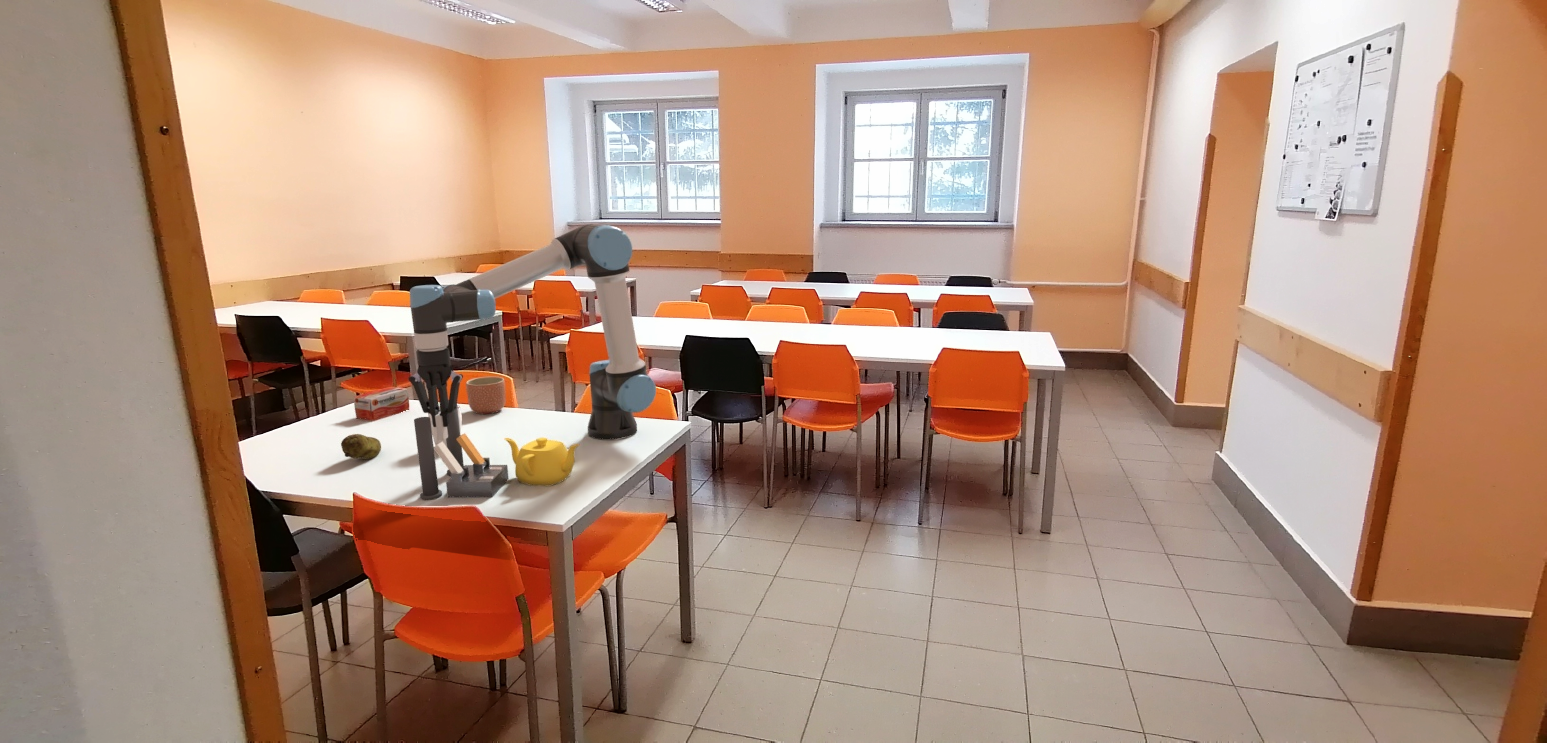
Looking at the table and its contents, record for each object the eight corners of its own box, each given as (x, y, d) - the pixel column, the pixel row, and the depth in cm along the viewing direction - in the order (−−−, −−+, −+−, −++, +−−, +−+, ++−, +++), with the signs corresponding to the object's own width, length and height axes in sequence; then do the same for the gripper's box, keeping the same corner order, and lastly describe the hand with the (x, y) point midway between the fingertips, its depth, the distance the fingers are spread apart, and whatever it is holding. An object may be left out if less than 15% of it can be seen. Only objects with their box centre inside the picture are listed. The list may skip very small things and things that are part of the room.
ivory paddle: (466, 473, 189) (443, 440, 187) (461, 478, 186) (437, 444, 184) (461, 476, 189) (437, 443, 187) (456, 481, 186) (432, 448, 184)
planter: (461, 415, 255) (458, 384, 252) (481, 405, 267) (478, 375, 264) (495, 417, 253) (492, 385, 250) (513, 407, 265) (511, 377, 262)
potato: (394, 453, 218) (391, 426, 217) (355, 467, 207) (351, 440, 205) (373, 449, 221) (370, 423, 220) (334, 464, 210) (330, 436, 208)
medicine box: (372, 422, 249) (369, 398, 247) (355, 419, 252) (352, 396, 250) (410, 410, 262) (408, 388, 261) (394, 407, 266) (391, 385, 264)
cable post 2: (470, 469, 205) (462, 398, 200) (462, 476, 200) (454, 403, 195) (451, 469, 205) (443, 398, 200) (444, 476, 200) (435, 403, 195)
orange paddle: (488, 464, 195) (465, 432, 193) (483, 468, 192) (460, 436, 190) (483, 467, 195) (460, 435, 193) (478, 471, 192) (455, 439, 190)
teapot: (487, 486, 193) (483, 446, 190) (521, 465, 207) (518, 428, 205) (564, 494, 187) (560, 453, 185) (594, 472, 202) (591, 434, 199)
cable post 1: (445, 492, 189) (436, 415, 185) (437, 499, 185) (427, 421, 180) (425, 492, 189) (416, 416, 185) (416, 500, 185) (406, 422, 180)
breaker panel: (508, 479, 198) (506, 456, 196) (492, 497, 186) (489, 473, 185) (466, 479, 198) (464, 457, 196) (447, 497, 186) (445, 473, 185)
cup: (452, 453, 218) (448, 413, 215) (425, 451, 219) (420, 412, 217) (471, 443, 226) (467, 405, 224) (444, 441, 228) (440, 403, 225)
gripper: (464, 344, 190) (474, 433, 196) (413, 345, 190) (424, 434, 196) (452, 351, 183) (462, 443, 188) (398, 351, 183) (410, 443, 188)
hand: (443, 438), depth 192 cm, fingers closed
